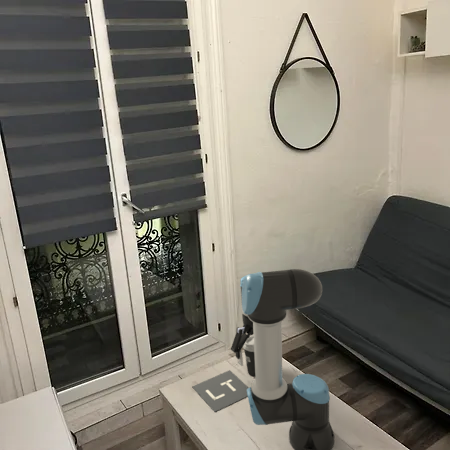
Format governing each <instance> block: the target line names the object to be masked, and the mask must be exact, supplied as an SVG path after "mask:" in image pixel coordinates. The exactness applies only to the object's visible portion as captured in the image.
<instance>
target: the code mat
mask: <svg viewBox="0 0 450 450" xmlns="http://www.w3.org/2000/svg"><path fill="white" fill-rule="evenodd" d="M248 388H250V387H249V386H248V385H246V384H245V383H244V382H243V381H242V380H241V379H240V378H239V377H238V376H237V375H236V374H235V373H233V372H232V371H231V370H230V369H229V370H227V371H224V372H222V373H220V374H218V375H215V376H213V377H211V378H208V379H206V380H204V381H202V382H199V383H197V384H194V385H193V386H192V389H193V391H195V392H196V393H197V395H198V396H199V397H200V398H201V399H202V400H203V401H204V402H205V403H206V404H207V405H208V406H209V408H211V410H212V411H213V412H214V413H216V412H218V411H220V410H222V409H225V408H227V407H229V406H231V405H233V404H235V403H237V402H240V401H241V400H244V399H246V398H248V395H247V389H248Z"/></svg>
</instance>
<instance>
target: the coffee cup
mask: <svg viewBox="0 0 450 450" xmlns="http://www.w3.org/2000/svg"><path fill="white" fill-rule="evenodd" d="M242 349H243V350H244V357H245V363H246V364H245V365H246V370H247V374H248V375H249V376H251V377H255V354H254V334H253V335H250V337H249V338H247V340H246V342H245V344H244V346H243V347H242Z"/></svg>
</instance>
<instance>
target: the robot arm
mask: <svg viewBox="0 0 450 450" xmlns="http://www.w3.org/2000/svg"><path fill="white" fill-rule="evenodd" d="M239 287H240V297H241V299H240V300H241V313H242V314H241V315H242V324H243V325H242V327H239V326H237V327H236V330H235V332H236V333H235V336H234V338H233V341H232V344H231V347H230V350H231V351H232V352H233V353H234V354H235V358H236V359H237V364H238V365H239V366H240V367H243V366H244V362H243V361H244V360H243V358H244V357H243V351H242V349H243V346H244V344H245V342H246V340H247V338H249V337H250V336H252V335H254V354H255V376H254V377H255V378H254V379H253V380H252V382H251V386H250V387H249V388H248V389H247V395H248V397H247V399H248V403H249V408H250V415H251V417H252V422H253V423H254V424H255V425H257V426H268V425H273V424H282V423H288V422H289V423H291V425H290V428H289V431H288V440H289V443H290V445H291V447H292V448H293V449H294V450H332V449H333V447H334V445H335V434H334V430H333V428H332V425H331V423H330V397H331V396H330V388H329V386H328V384H327V383H326V381H325V380H323V379H322V378H321V377H319V376H317V375H315V374H310V373H302V374H298V375H297V376H295V377H294V378H293V380H292V383H287V381H286V380H285V379H284V378H283V342H282V341H283V335H282V334H283V333H282V329H283V328H282V322H283V321H284V320H285V319H286V318H287V310H288V311H291V310H297V309H303V308H306V307H310V306H312V305H313V304H316V303H317V302H318V301H319V300H320V299H321V297H322V295H323V285H322V282H321V280H320V278H319V277H318V276H316V275H315V274H314V273H312V272H310V271H308V270H305V269H300V268H292V269H291V268H290V269H284V270H283V269H282V270H274V271H273V270H271V271H258V272H254V273H248V274H246V275H244V276H243V277H241V278H240V285H239Z"/></svg>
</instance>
